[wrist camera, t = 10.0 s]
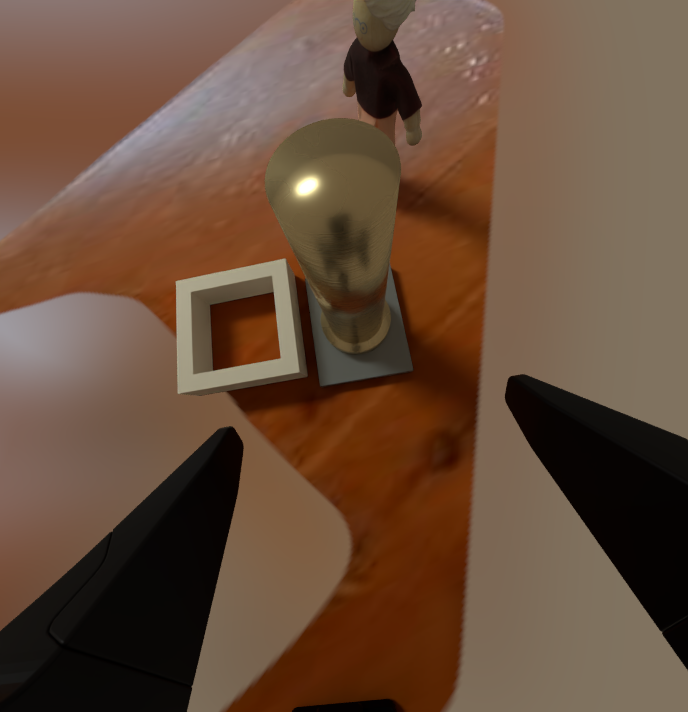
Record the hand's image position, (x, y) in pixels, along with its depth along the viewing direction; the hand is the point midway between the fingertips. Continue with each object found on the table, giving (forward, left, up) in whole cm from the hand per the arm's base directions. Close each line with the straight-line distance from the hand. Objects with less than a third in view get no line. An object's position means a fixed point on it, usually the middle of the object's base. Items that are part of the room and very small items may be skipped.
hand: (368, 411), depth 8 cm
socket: (+8, +9, -11) cm, 16 cm away
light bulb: (+7, 0, -10) cm, 13 cm away
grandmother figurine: (+20, -4, -11) cm, 23 cm away
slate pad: (+7, 0, -11) cm, 13 cm away
